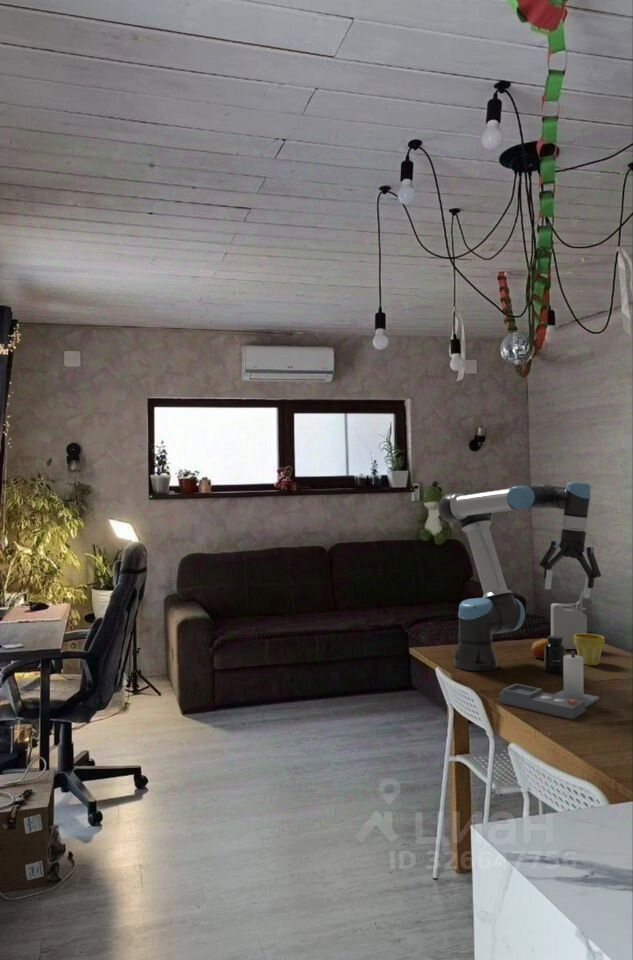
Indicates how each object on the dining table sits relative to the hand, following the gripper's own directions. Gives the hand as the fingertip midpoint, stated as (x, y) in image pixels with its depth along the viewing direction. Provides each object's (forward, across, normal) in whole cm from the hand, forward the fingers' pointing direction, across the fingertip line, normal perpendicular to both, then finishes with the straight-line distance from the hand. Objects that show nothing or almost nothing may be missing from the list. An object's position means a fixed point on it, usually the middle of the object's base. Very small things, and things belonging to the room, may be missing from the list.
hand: (566, 593), depth 231 cm
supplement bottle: (+29, +6, -9) cm, 31 cm away
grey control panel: (+29, -11, +30) cm, 43 cm away
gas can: (+29, +18, -46) cm, 58 cm away
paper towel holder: (+28, -14, +16) cm, 35 cm away
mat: (+28, -14, +16) cm, 36 cm away
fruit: (+30, +19, -24) cm, 43 cm away
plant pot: (+28, +3, -30) cm, 41 cm away
